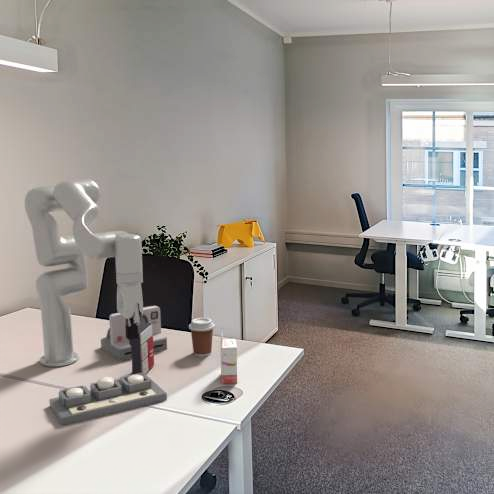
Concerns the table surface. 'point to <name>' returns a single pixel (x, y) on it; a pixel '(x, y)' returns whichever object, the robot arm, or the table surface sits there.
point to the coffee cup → (202, 336)
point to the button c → (135, 379)
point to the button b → (105, 383)
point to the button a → (74, 392)
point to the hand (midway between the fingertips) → (132, 337)
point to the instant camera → (117, 338)
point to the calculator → (142, 349)
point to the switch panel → (106, 399)
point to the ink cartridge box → (228, 360)
